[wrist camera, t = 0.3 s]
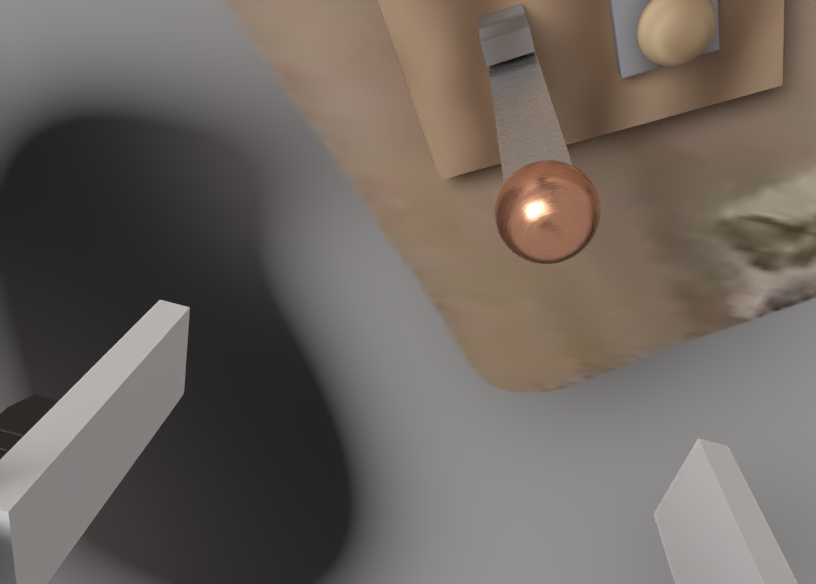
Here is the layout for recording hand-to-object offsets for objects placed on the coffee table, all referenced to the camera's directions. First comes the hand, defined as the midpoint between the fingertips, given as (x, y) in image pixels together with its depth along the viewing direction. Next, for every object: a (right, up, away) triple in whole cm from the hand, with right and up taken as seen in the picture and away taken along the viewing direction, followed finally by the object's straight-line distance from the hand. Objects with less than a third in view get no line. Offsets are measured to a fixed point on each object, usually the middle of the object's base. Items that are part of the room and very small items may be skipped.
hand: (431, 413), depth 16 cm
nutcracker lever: (+5, +15, +17) cm, 23 cm away
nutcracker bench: (+9, +18, +19) cm, 28 cm away
